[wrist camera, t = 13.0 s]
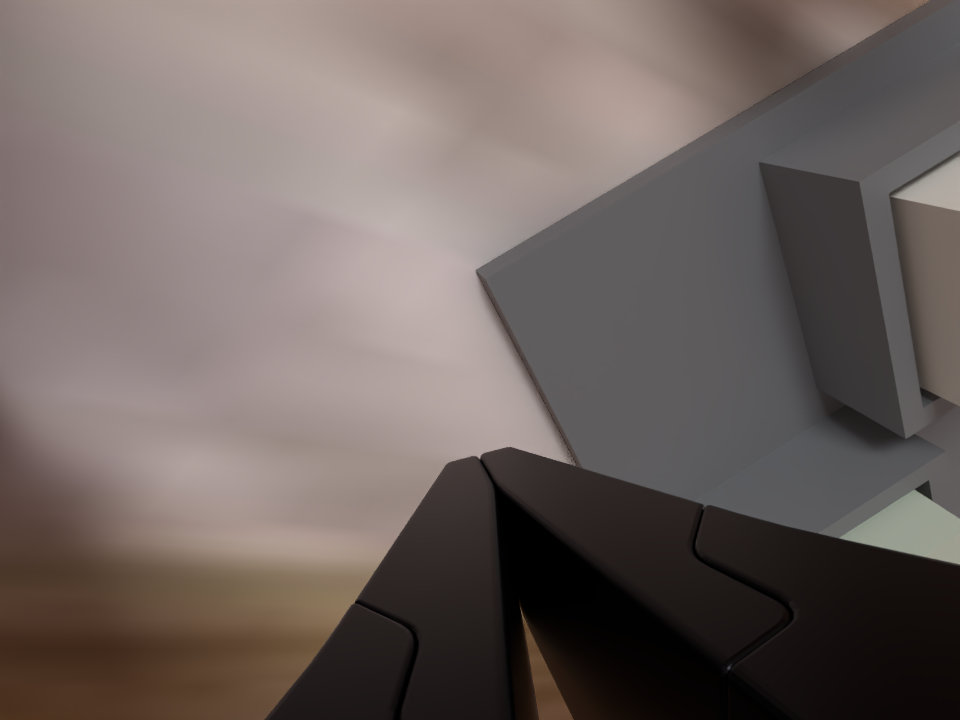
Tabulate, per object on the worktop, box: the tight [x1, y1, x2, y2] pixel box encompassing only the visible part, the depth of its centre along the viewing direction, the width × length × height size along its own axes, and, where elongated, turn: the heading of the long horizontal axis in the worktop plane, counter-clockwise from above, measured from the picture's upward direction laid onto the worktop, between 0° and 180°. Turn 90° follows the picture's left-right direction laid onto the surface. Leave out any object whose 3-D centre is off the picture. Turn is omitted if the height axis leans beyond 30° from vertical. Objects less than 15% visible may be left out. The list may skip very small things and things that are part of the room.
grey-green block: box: [839, 490, 960, 564], centre depth 26 cm, size 7×7×6 cm
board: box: [476, 0, 960, 538], centre depth 25 cm, size 20×23×5 cm
